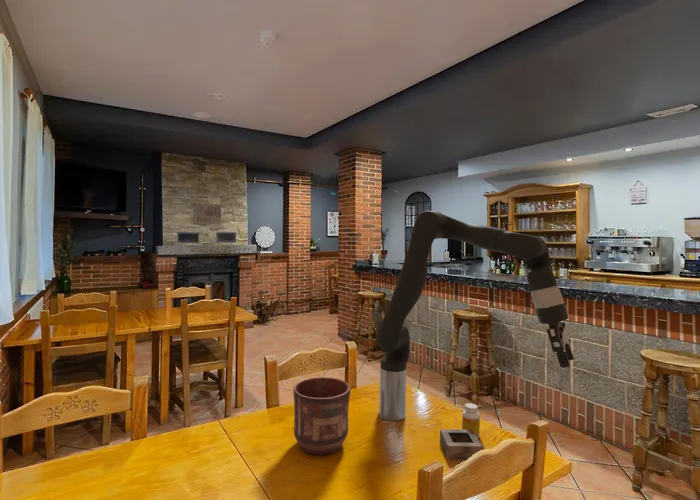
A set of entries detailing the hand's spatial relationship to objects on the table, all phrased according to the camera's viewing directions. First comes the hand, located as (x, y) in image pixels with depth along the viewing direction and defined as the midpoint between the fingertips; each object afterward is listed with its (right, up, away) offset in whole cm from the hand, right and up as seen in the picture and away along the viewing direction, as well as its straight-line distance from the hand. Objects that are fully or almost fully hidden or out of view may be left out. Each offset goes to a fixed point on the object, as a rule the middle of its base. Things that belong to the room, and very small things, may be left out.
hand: (567, 363), depth 106 cm
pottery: (-68, -29, +14) cm, 75 cm away
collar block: (-26, -30, +12) cm, 41 cm away
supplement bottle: (-20, -30, +21) cm, 41 cm away
